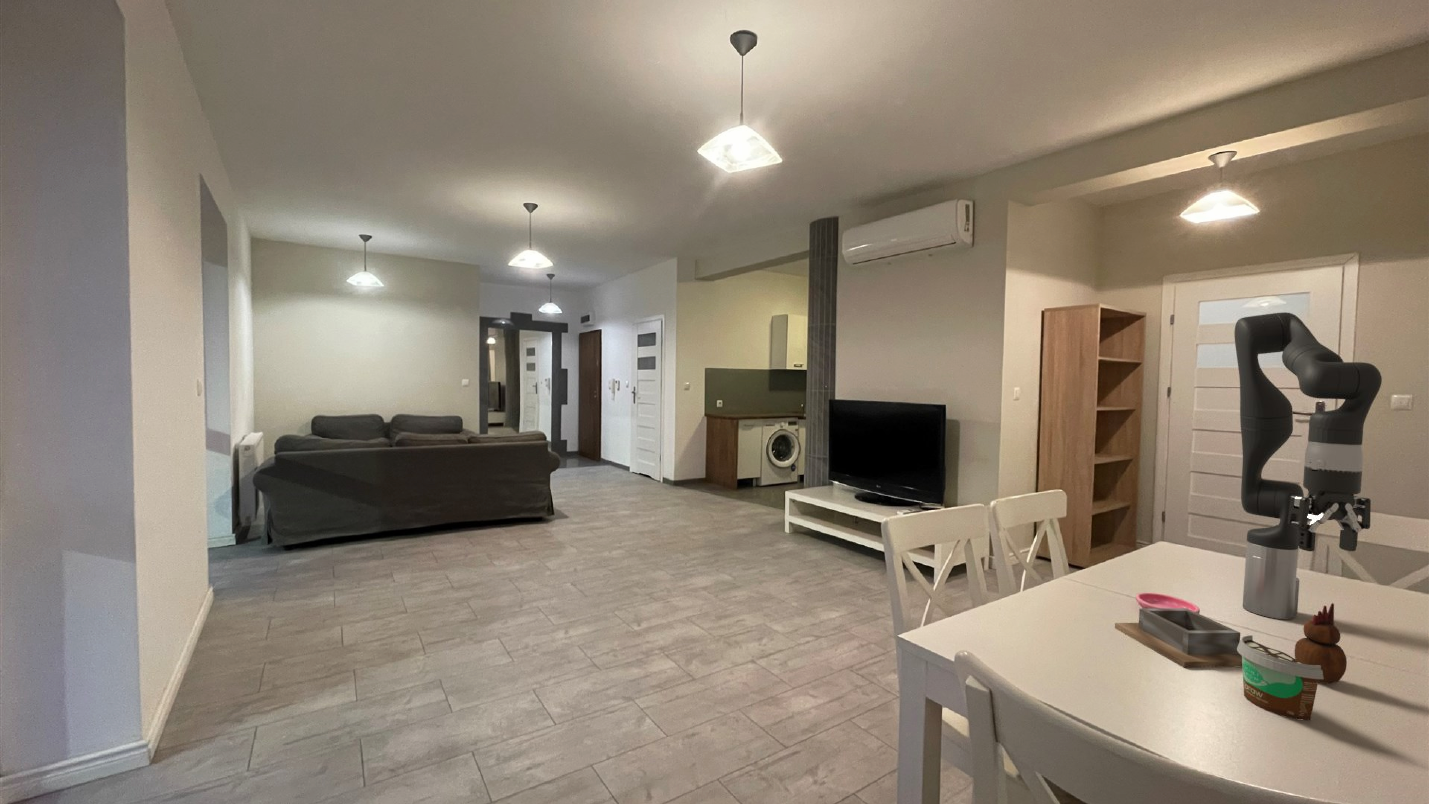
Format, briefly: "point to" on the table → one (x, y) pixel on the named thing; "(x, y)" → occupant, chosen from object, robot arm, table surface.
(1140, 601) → the saucer
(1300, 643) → the wooden figurine
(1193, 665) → the collar board
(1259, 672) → the food container
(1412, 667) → the table surface
